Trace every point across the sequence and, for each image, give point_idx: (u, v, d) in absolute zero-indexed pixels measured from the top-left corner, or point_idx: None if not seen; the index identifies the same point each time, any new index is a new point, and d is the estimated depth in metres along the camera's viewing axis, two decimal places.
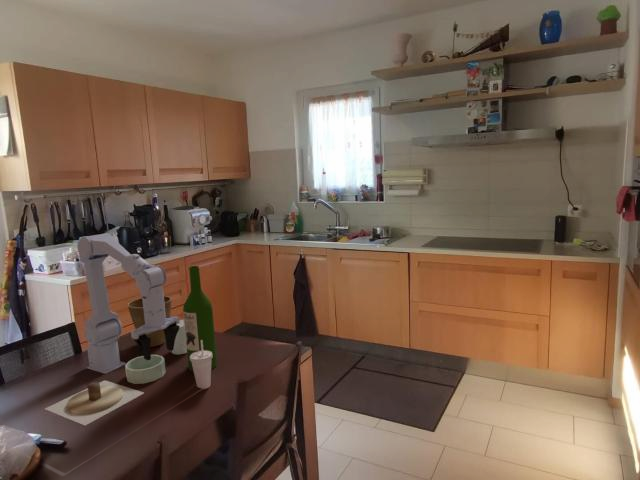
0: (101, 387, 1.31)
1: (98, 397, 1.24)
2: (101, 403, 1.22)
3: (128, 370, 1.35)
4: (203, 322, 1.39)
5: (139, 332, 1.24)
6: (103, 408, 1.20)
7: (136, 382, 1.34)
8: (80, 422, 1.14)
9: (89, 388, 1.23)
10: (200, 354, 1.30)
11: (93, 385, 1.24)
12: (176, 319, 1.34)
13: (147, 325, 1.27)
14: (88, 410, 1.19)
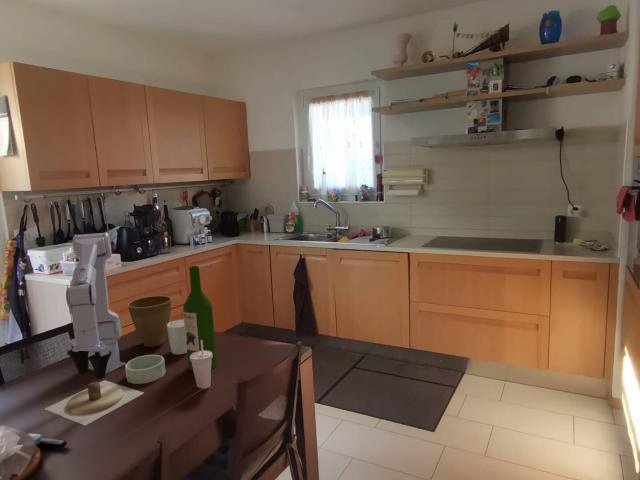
0: (101, 387, 1.31)
1: (98, 397, 1.24)
2: (101, 403, 1.22)
3: (128, 370, 1.35)
4: (203, 322, 1.39)
5: (70, 342, 1.24)
6: (103, 408, 1.20)
7: (136, 382, 1.34)
8: (80, 422, 1.14)
9: (89, 388, 1.23)
10: (200, 354, 1.30)
11: (93, 385, 1.24)
12: (98, 350, 1.18)
13: None
14: (88, 410, 1.19)
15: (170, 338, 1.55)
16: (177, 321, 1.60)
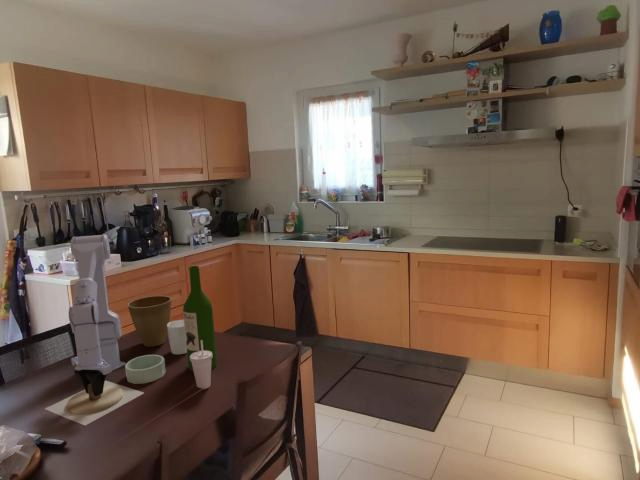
0: None
1: (98, 397, 1.24)
2: (101, 403, 1.22)
3: (128, 370, 1.35)
4: (203, 322, 1.39)
5: (73, 360, 1.25)
6: (103, 408, 1.20)
7: (136, 382, 1.34)
8: (80, 422, 1.14)
9: (89, 388, 1.23)
10: (200, 354, 1.30)
11: None
12: (101, 368, 1.19)
13: None
14: (88, 410, 1.19)
15: (170, 338, 1.55)
16: (177, 321, 1.60)
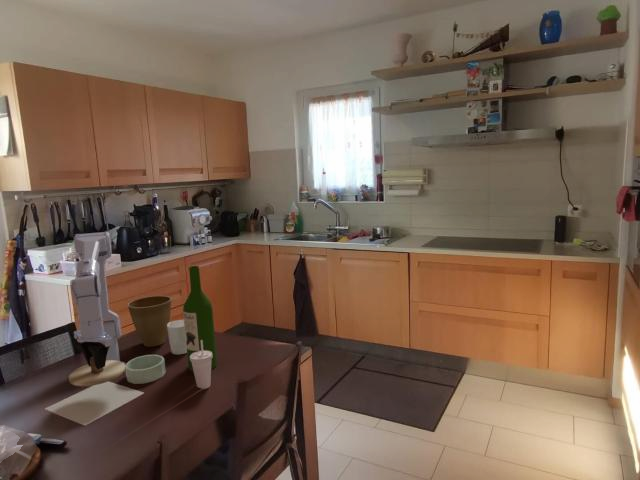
0: None
1: (100, 370, 1.24)
2: (103, 375, 1.22)
3: (128, 370, 1.35)
4: (203, 322, 1.39)
5: (76, 333, 1.26)
6: (105, 380, 1.20)
7: (136, 382, 1.34)
8: (80, 422, 1.14)
9: (91, 361, 1.23)
10: (200, 354, 1.30)
11: None
12: (103, 341, 1.20)
13: None
14: (90, 382, 1.19)
15: (170, 338, 1.55)
16: (177, 321, 1.60)
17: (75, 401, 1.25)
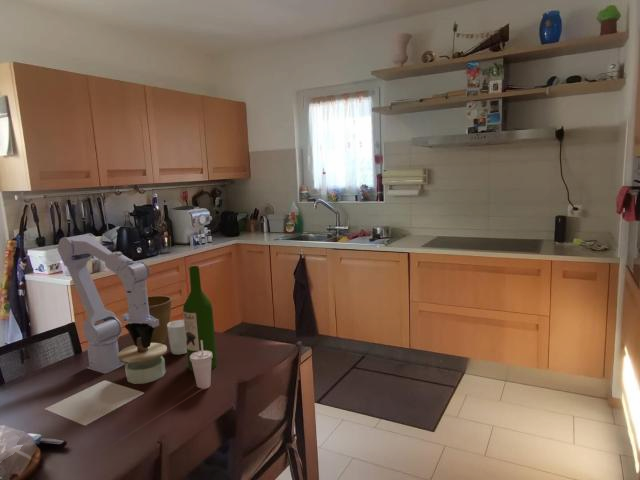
0: None
1: (146, 349, 1.37)
2: (149, 354, 1.35)
3: (128, 370, 1.35)
4: (203, 322, 1.39)
5: (123, 316, 1.39)
6: (151, 358, 1.33)
7: (136, 382, 1.34)
8: (80, 422, 1.14)
9: (138, 341, 1.36)
10: (200, 354, 1.30)
11: None
12: (150, 322, 1.33)
13: None
14: (138, 358, 1.32)
15: (170, 338, 1.55)
16: (177, 321, 1.60)
17: (75, 401, 1.25)
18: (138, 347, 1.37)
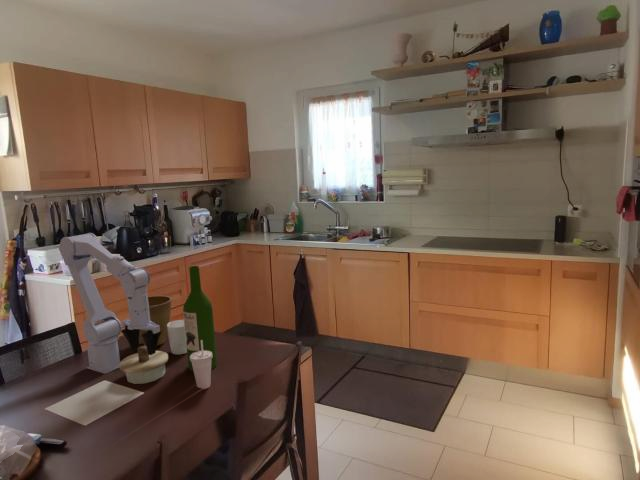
0: None
1: (147, 359, 1.38)
2: (150, 363, 1.36)
3: None
4: (203, 322, 1.39)
5: (124, 322, 1.39)
6: (153, 367, 1.34)
7: (136, 382, 1.34)
8: (80, 422, 1.14)
9: (139, 350, 1.37)
10: (200, 354, 1.30)
11: (142, 348, 1.37)
12: (151, 328, 1.33)
13: None
14: (140, 369, 1.32)
15: (170, 338, 1.55)
16: (177, 321, 1.60)
17: (75, 401, 1.25)
18: (139, 357, 1.37)
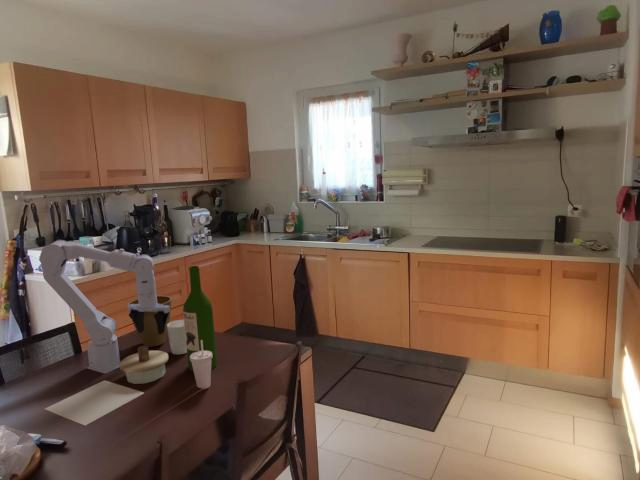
0: None
1: (147, 359, 1.38)
2: (151, 363, 1.36)
3: None
4: (203, 322, 1.39)
5: (130, 306, 1.48)
6: (153, 367, 1.34)
7: (136, 382, 1.34)
8: (80, 422, 1.14)
9: (139, 350, 1.37)
10: (200, 354, 1.30)
11: (143, 348, 1.38)
12: (163, 308, 1.45)
13: None
14: (140, 369, 1.32)
15: (170, 338, 1.55)
16: (177, 321, 1.60)
17: (75, 401, 1.25)
18: (139, 356, 1.37)
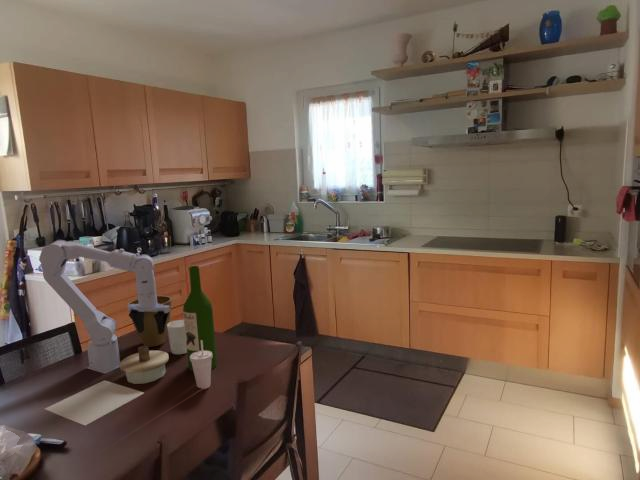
0: None
1: (147, 359, 1.38)
2: (151, 363, 1.36)
3: None
4: (203, 322, 1.39)
5: (130, 306, 1.48)
6: (154, 367, 1.34)
7: (136, 382, 1.34)
8: (80, 422, 1.14)
9: (140, 350, 1.37)
10: (200, 354, 1.30)
11: (143, 348, 1.38)
12: (163, 308, 1.45)
13: None
14: (141, 369, 1.32)
15: (170, 338, 1.55)
16: (177, 321, 1.60)
17: (75, 401, 1.25)
18: (140, 356, 1.37)
